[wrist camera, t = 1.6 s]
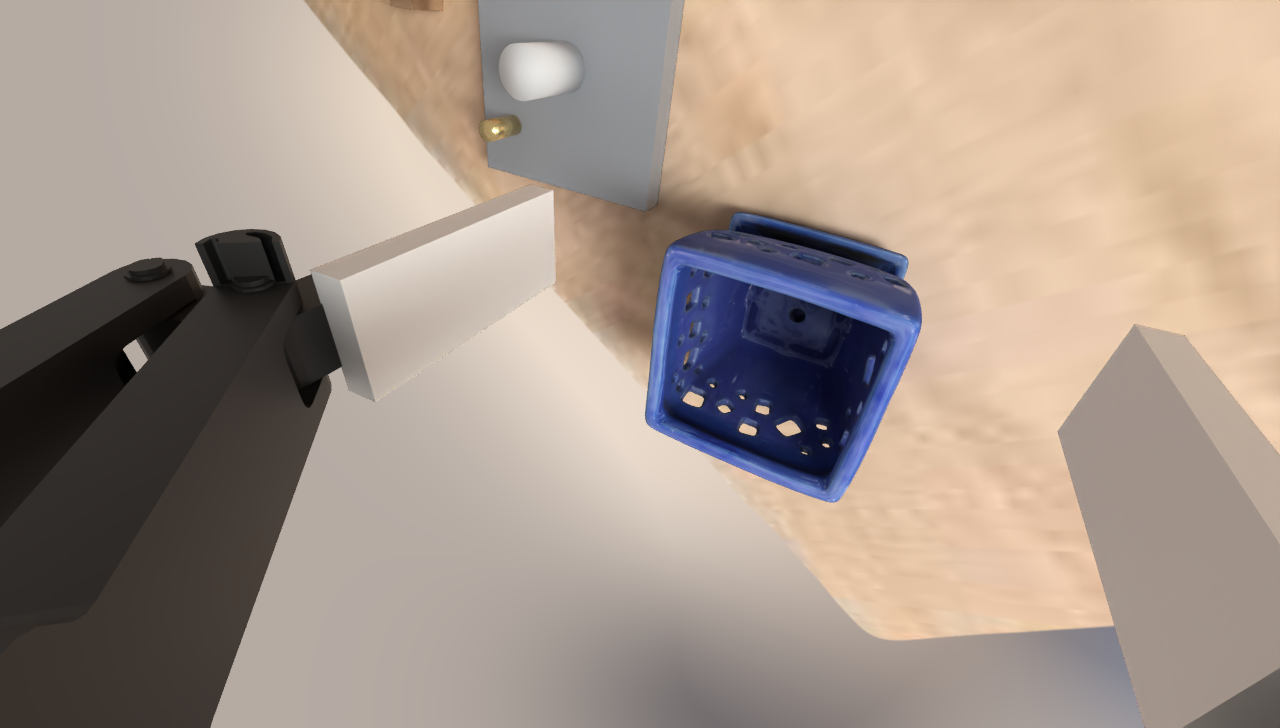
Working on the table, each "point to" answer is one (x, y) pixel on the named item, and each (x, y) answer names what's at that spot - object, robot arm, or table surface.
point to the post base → (582, 91)
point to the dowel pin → (499, 128)
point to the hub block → (418, 4)
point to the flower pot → (780, 348)
